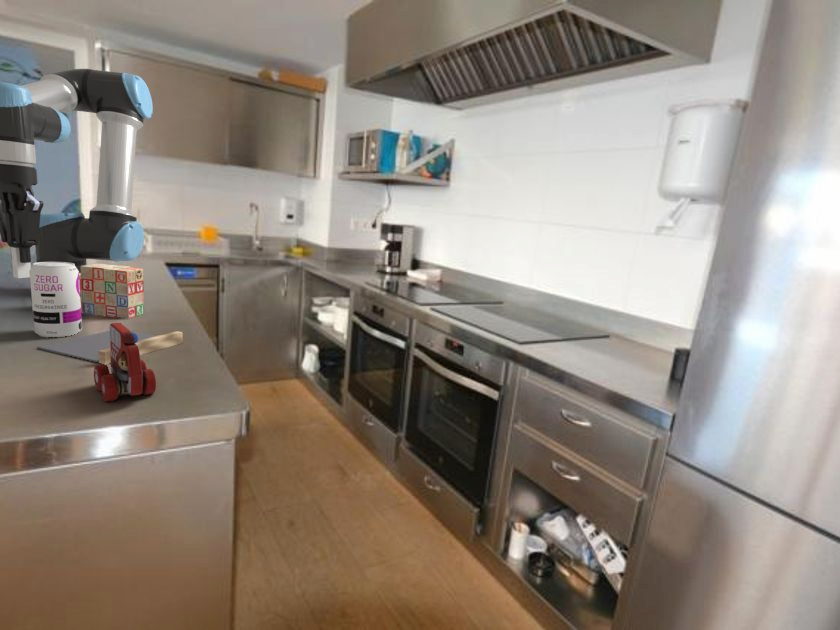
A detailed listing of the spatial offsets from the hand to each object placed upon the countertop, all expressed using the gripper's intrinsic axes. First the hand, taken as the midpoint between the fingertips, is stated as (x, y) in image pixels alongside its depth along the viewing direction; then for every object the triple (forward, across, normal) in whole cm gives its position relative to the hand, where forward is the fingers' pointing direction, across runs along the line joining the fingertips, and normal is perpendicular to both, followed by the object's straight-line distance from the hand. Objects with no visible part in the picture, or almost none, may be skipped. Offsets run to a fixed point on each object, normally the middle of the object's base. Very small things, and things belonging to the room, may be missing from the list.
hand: (22, 277), depth 105 cm
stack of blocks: (+11, -2, +18) cm, 21 cm away
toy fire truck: (+11, +48, -16) cm, 52 cm away
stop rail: (+11, +34, 0) cm, 36 cm away
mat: (+11, +25, 0) cm, 27 cm away
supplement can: (+11, +10, 0) cm, 15 cm away
